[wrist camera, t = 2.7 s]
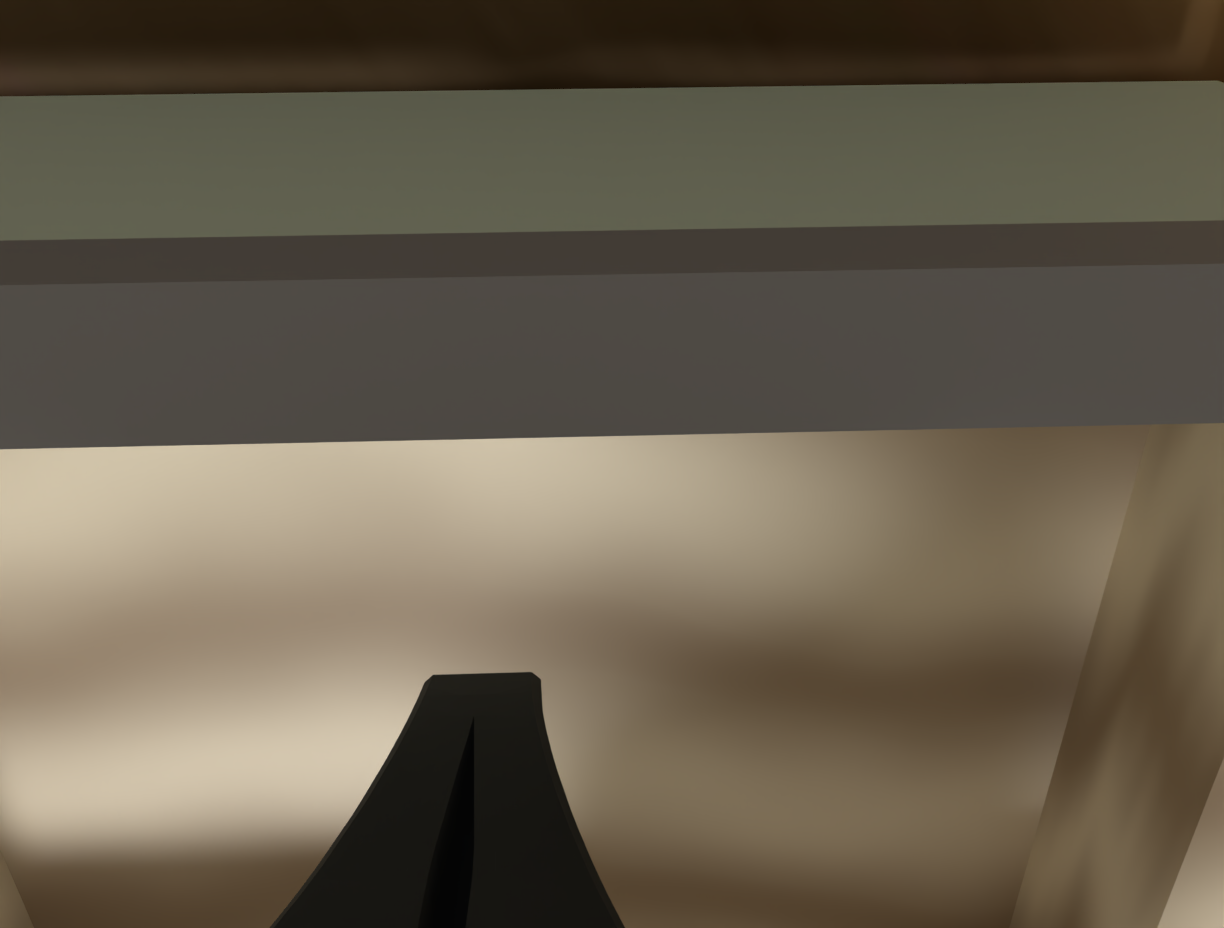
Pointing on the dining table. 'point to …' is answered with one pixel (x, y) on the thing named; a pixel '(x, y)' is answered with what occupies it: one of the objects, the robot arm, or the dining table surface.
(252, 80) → the dining table surface
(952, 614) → the cart bed
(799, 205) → the panel
